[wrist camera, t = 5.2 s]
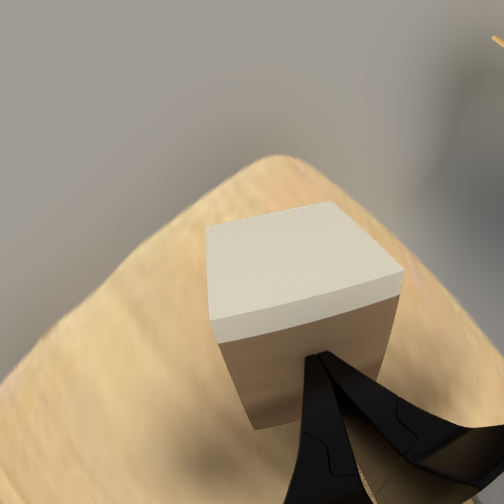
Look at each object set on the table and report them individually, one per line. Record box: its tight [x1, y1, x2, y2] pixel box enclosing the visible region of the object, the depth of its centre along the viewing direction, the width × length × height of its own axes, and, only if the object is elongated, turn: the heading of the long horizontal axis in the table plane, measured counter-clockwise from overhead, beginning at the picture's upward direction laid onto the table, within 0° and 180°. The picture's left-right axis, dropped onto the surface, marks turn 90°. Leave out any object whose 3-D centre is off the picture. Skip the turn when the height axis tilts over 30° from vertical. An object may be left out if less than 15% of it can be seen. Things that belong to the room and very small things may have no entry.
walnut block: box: [205, 201, 405, 430], centre depth 12 cm, size 6×6×8 cm
